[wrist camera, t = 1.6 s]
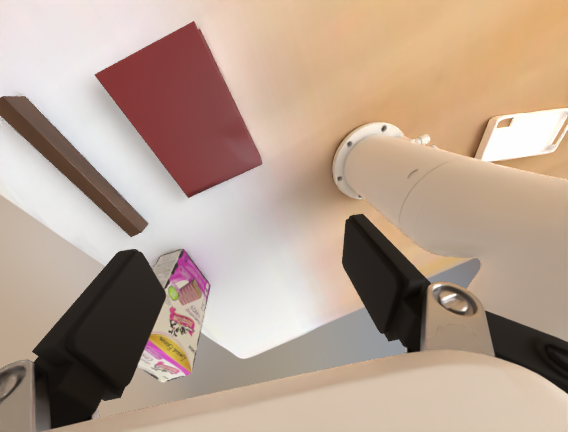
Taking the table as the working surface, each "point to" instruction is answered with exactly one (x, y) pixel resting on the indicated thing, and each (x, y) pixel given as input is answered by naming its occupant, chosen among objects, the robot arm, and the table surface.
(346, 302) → the table surface
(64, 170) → the rail
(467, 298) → the robot arm
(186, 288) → the candy bar box
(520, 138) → the phone case
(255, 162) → the book
